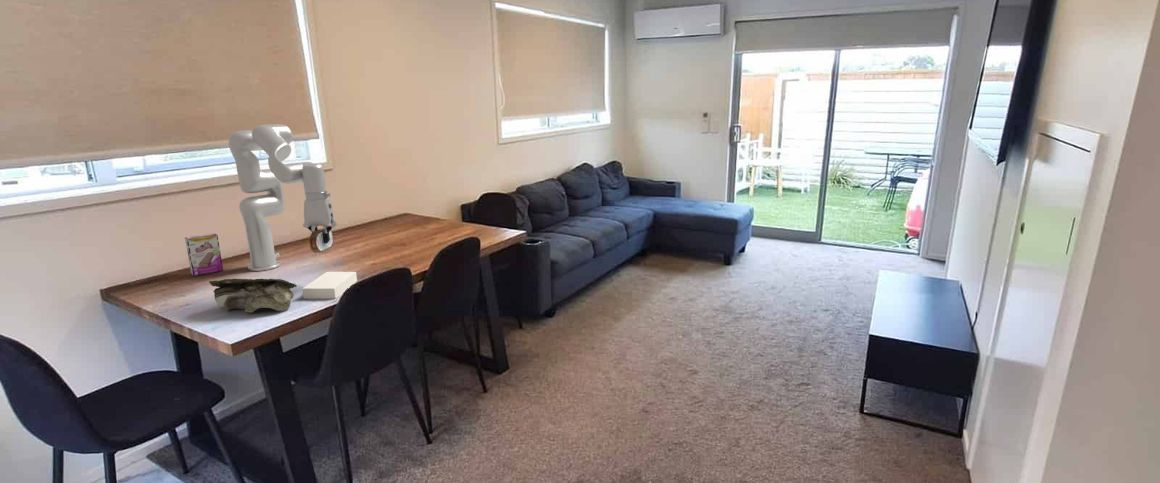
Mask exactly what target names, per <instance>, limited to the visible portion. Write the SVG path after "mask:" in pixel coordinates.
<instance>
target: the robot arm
mask: <svg viewBox="0 0 1160 483" xmlns="http://www.w3.org/2000/svg"><path fill="white" fill-rule="evenodd" d="M292 141H293V132H292V130H291V129H290V127H289V126H287V125H285V124H283V123H275V124H274V123H273V124H260V125H256V126H254V128H253V129H247V130H246V129H244V130H237V131H234V132H232V133H231V134H230V135H229V136H228V147H229V150H230V153H231V155H232V158H233V159H234V161H235V168H236V172H237V178H238V184H239V188H240V189H241V191H242V193H245V194H257V193H266V192H267V194H259V195H254V196H253V195H252V196H248V197H245V198H243V199H241V201H240V202H239V205H238V208H239V211H240V214H241V216H242V220H243V222H244V228H245V233H246V239H247V246H248V251H249V257H250V264H248V265H247V269H248V270H249V271H253V272H260V271H261V272H262V271H268V270H274V269H276V268H279V267H280V266H281V261H279V260H277V258H279V257H280V256H281V255H280V253H279V252H275V246H274V239H273V232H272V227H271V225H270V223H269V222H268V221H267V220H265V218H266V217H273V216H277V215H280V214H282V213H284V211H285V208H286V204H285V203H286V202H285V197H284V191H283V184H286V185H290V184H297V183H303V189H304V197H305V199H304V200H303V203H304V204H303V218H304V220H303V221H304V222H303V224H302V227H303V228H305V229H308V230H309V231H310V232H311V233H312V232H313V231H316V230H319V226H322V228H323V230H324V233H323V240H324V243H328V242H329V240H330V237H329V232H330V230H331V231H332V229H333V228H336V227H338V223H337V222H336V217H335V213H334V209H333V208H334V207H333V205H332V202H331V199H330V197H331V193H330V192H328V191H327V187H326V178H325V170H324V166H323V165H322V164H321V163H313V162H311V161H301V162H294V163H293V162H292V163H283V161H285V160H286V159H288V158H289V157H290V155H291V154H292V153H291V152H292V147H291V143H292ZM253 151H254V152H255V151H264V152H265V153H266V155H268V159H267V164H268V167H269V168H265V169H261V167H260V161H259V159H258V157H257V156H256V154H255V153H253ZM282 183H283V184H282Z"/></svg>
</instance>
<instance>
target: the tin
mask: <svg viewBox="0 0 1160 483" xmlns="http://www.w3.org/2000/svg"><path fill="white" fill-rule="evenodd" d="M323 233H324V230H323V227H322V228H318V230H316V231H313V232H311V234H310V235H309V247H310V249H311V251H312V252H313V253H315V254H316V253H323V252H325V251H327V250H329V249H331V248H332V247H333V245H334V235H333V231H332V229H331V230H330V232H329V237H330V240H329V242H328V243H324V240H323Z"/></svg>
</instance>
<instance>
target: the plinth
mask: <svg viewBox="0 0 1160 483" xmlns="http://www.w3.org/2000/svg"><path fill="white" fill-rule="evenodd" d="M357 282H358V277H357V272H356V271H326V272H324V273H323V274H322V275H320V276H318V277H317V278H315V279H314V280H312V281H311V282H309V283H307V285H305V286H303V287H302V296H303V299H304V300H306V299H308V300H309V299H316V300H318V299H319V300H320V299H328V300H329V299H333V300H334V299H336V300H337V298H338V297H340V296H341V295H342V294H344V292H346V291H347V290H348V289H350V288H351V287H352V286H353V285H354V284H356V283H357ZM352 284H353V285H352ZM351 285H352V286H351ZM350 286H351V287H350ZM347 288H348V289H347ZM346 289H347V290H346ZM345 290H346V291H345Z"/></svg>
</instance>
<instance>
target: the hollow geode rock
mask: <svg viewBox="0 0 1160 483" xmlns="http://www.w3.org/2000/svg"><path fill="white" fill-rule="evenodd" d="M209 284H210V285H211V286H212V287H217V288H214V290H213V293H214V301H215V302H216V304H217V306H218V307H219V308H220V310H221V309H223V310H224V311H227V312H228V311H231V310H236V309H240V310H244V311H245V313H254V312H255V311H257V310H258V309H262V308H265V309H266V308H267V309H271V310H274V311H277V312H285V311H288V310H289V309H290V307H291V306H290V305H291V302H292V301H291V300H292V299H293V298H294V296H295V295H294V292H293V291H292V290H291V289H294V288H297V287H298V285H297V284H296V283H292V282H290V281H287V280H285V279H282V278H254V279H253V278H223V279H222V280H221V279H220V280H211V281H209Z"/></svg>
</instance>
